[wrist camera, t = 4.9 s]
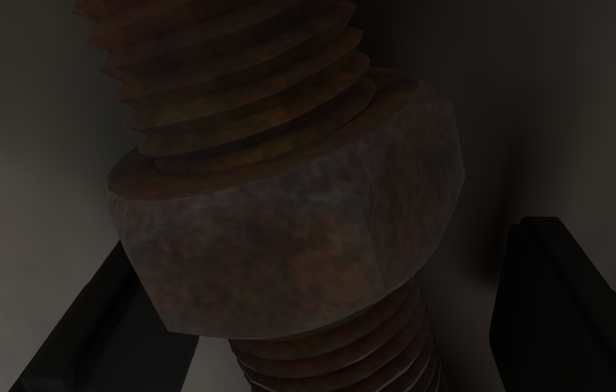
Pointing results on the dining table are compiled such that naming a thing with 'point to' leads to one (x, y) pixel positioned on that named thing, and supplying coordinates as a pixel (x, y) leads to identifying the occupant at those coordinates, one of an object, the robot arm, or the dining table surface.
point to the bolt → (281, 188)
